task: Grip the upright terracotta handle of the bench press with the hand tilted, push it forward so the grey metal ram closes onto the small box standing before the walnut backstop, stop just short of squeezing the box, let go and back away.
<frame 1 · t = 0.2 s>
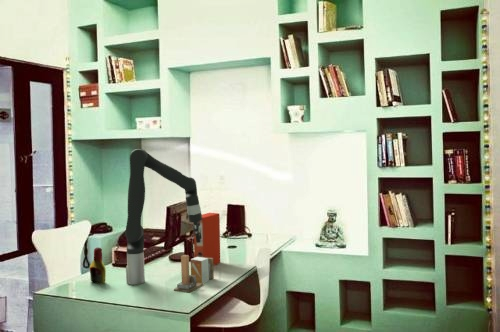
hand: (199, 240, 270), 22 cm above the table, tool pointing down, fingers open, 8 cm apart
small box: (200, 281, 269), on the table
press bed: (188, 287, 258), on the table
ram: (186, 270, 255), point 10 cm above the table, slide at 0.0 cm
file binder: (207, 265, 302), on the table
bottle: (98, 282, 271), on the table
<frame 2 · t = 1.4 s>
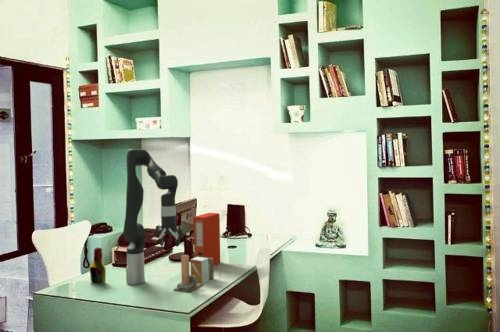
hand: (169, 246, 244), 26 cm above the table, tool pointing down, fingers open, 8 cm apart
nothing on the table moved.
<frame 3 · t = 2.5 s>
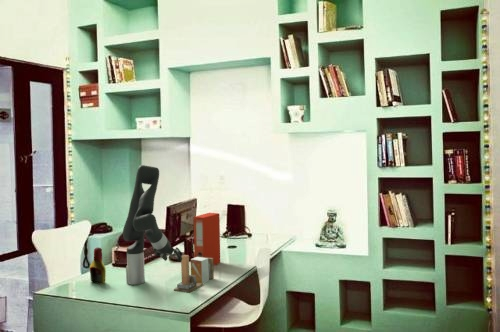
hand: (173, 259, 243), 19 cm above the table, tool tilted 45°, fingers open, 8 cm apart
nothing on the table moved.
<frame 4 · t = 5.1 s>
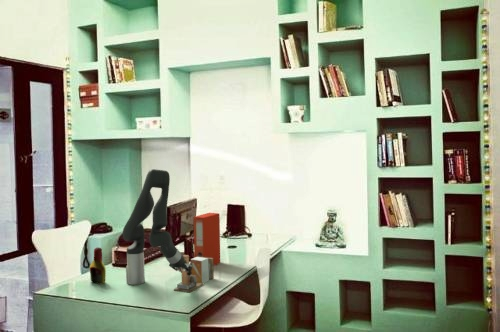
hand: (187, 273, 256), 8 cm above the table, tool tilted 45°, fingers closed on ram, 3 cm apart
ram: (186, 270, 255), point 10 cm above the table, slide at 0.0 cm, touching gripper
everything else where it was.
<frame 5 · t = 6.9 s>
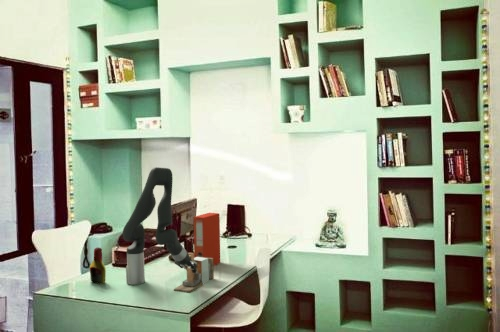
hand: (192, 271, 261), 8 cm above the table, tool tilted 45°, fingers closed on ram, 3 cm apart
ram: (191, 268, 260), point 10 cm above the table, slide at 5.3 cm, touching gripper
everything else where it was.
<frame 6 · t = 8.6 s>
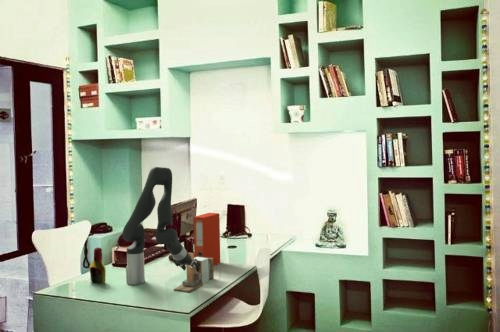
hand: (191, 269, 260), 9 cm above the table, tool tilted 45°, fingers open, 8 cm apart
ram: (191, 268, 260), point 10 cm above the table, slide at 5.2 cm
everything else where it was.
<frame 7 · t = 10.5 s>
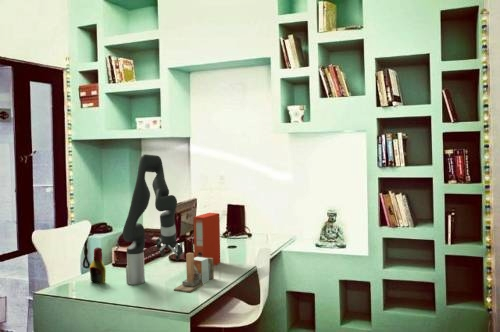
hand: (170, 257, 247), 19 cm above the table, tool tilted 20°, fingers open, 8 cm apart
nothing on the table moved.
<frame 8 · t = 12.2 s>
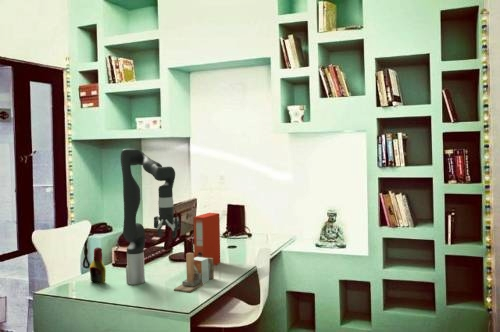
hand: (167, 237, 245), 30 cm above the table, tool pointing down, fingers open, 8 cm apart
nothing on the table moved.
at the end: ram slide at 5.2 cm; small box moved 0.2 cm from its start; small box tilted 0° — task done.
